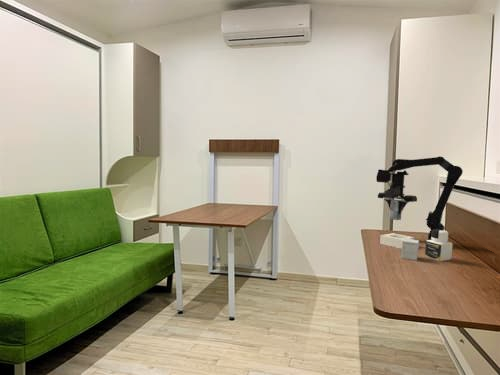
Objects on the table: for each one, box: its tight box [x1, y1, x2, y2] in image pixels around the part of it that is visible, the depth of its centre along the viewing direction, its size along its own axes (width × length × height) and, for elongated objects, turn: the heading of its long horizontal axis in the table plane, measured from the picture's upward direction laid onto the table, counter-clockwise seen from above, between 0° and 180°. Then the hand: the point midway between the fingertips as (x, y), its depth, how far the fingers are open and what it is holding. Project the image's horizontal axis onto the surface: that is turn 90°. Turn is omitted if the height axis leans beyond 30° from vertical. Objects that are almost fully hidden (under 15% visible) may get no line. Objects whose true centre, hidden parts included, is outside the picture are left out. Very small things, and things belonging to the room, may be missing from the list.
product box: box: [400, 238, 420, 261], centre depth 145 cm, size 6×6×7 cm
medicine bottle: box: [424, 229, 453, 262], centre depth 145 cm, size 7×7×12 cm
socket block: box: [379, 232, 415, 250], centre depth 167 cm, size 11×11×4 cm
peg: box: [389, 199, 402, 221], centre depth 180 cm, size 4×4×10 cm
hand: (395, 213), depth 181 cm, fingers closed on peg, 4 cm apart
